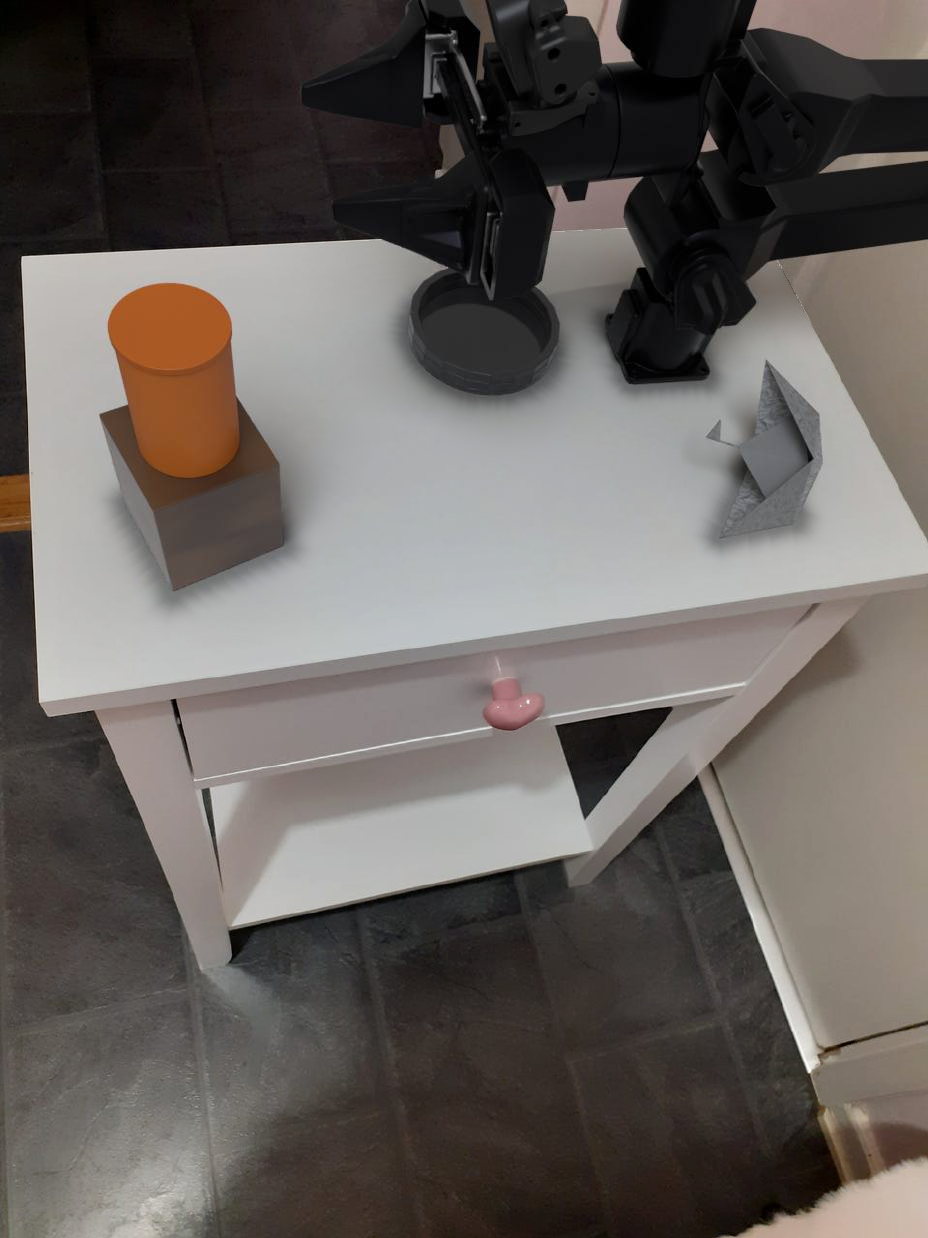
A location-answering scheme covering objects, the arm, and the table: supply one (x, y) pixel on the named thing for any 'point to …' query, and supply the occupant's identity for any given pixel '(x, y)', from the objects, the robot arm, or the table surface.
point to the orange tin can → (178, 377)
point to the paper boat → (776, 459)
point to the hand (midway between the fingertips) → (315, 150)
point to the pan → (481, 335)
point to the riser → (200, 503)
